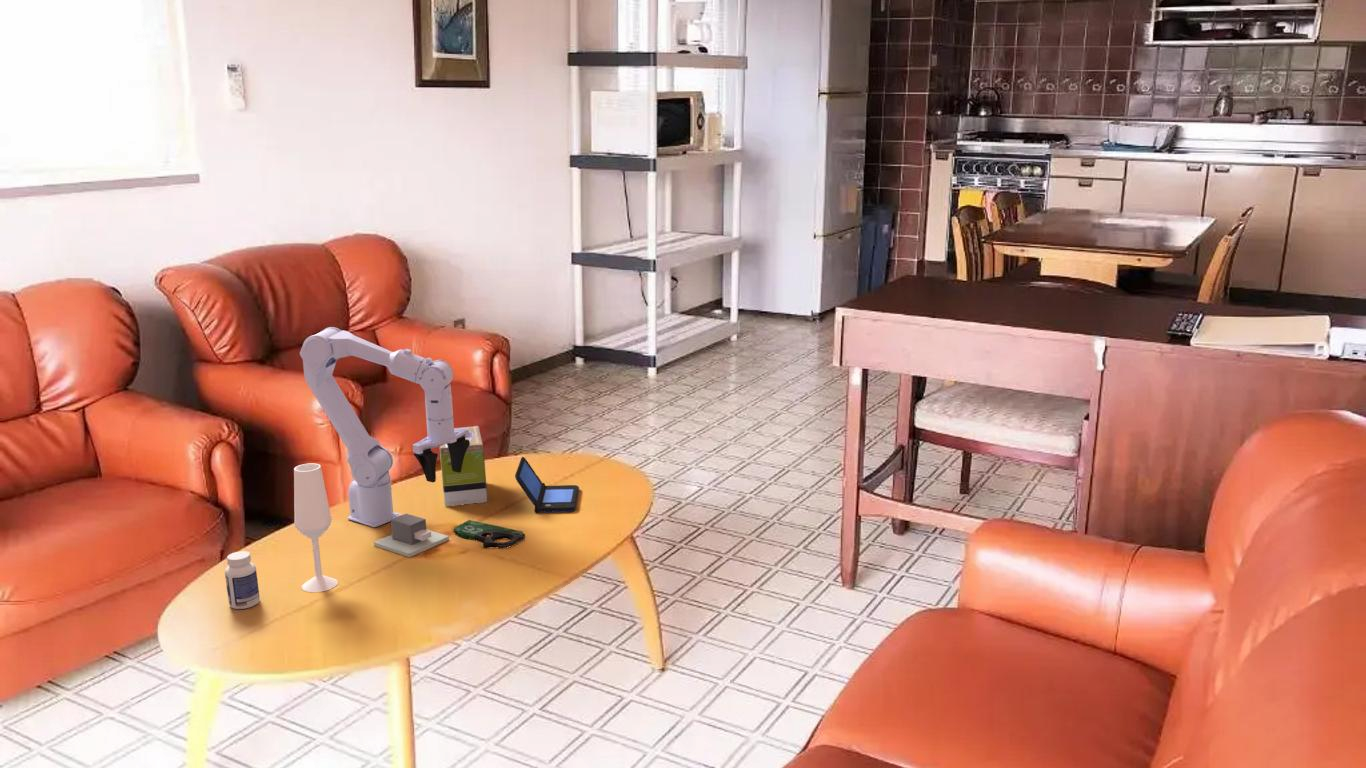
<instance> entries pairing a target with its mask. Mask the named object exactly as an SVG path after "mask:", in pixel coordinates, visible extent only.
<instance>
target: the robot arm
mask: <svg viewBox="0 0 1366 768" xmlns="http://www.w3.org/2000/svg"><path fill="white" fill-rule="evenodd" d="M412 352H413V351H412V350H411V349H409V348H405V349H398V350H395V351H391V350H389V349H387V348H384V347H382V346H379V345H377V344H375V343H372V341H371V342H370V341H368V340H365V339H364V338H362V337H359V336H356V335H354V333H351V332H350V331H348V330H341V329H340V328H338V327H333V326H329V327H326V328H324V329H323V330H321V331H320V332H318V333H316V334H313V335H310V336H308V337H307V338H306V339H305V340H304V341H303V343H302V347H301V349H300V352H299V355H300V357H301V359H302V365H303V376H304V377H303V378H304V380H305V383H306V384H307V386H308V387H309V389H310V391H311V392H312V393H313V395H314V397H315V399H316V400H317V402H318V403H319V404H320V407H321V408H322V410H323V411H324V413H325V415H326V416H327V418H328V420H329V421H330V423H331V424H332V426H333V428H334V429H335V431H336V432H337V434H338V436H339V438H340V439H341V440H342V442H343V444H344V445H345V447H346V449H347V452H346V453H347V457H346V461H347V463H348V465H349V467H350V474H351V476H352V479H353V480H352V482H350V484H349V487H348V492H347V493H348V501H349V502H348V504H349V511H350V512H349V513H350V515H349V516H347V520H350V521H352V522H356V523H358V524H359V523H360V524H363V525H366V526H368V527H373V528H377V527H380V526H381V525H384V524H386V523H389V522H390V523H391V519H394V518H396V517H399V516H401V515H403V514H402V513H399V512H395V511H394V504H393V495H392V494H393V493H392V483H391V476H390V470H391V469H392V467H393V464H394V458H393V455H392V454H391V452H390V450H389V449H386V448H385V447H384V446H383V445H382V444H381V443H380V441H379V440H378V439H377V438H375V437H372V436H371V435H369V433H368V431H367V430H366V428H365V426H364V425H363V424H362V422H361V420H360V418H359V417H358V415H357V412H355V410H354V408H353V407H352V405H351V403H350V402H349V400H348V399H347V397H346V396H345V394H344V392H343V391H342V389H341V388H340V386H339V384H338V382H337V381H336V379H335V378H334V375H333V374H334V370H335V367H336V364H337V361H338V360H339V359H342V358H347V357H351V356H352V357H356V358H359V359H362V360H366V361H368V362H372V363H374V364H375V363H376V364H378V365H382V366H385V367H386V368H387V370H388V371H389V373H390V374H391V375H392V376H393V375H394V376H395V377H399V378H402V379H404V380H407V381H409V382H412V383H414V384H417V385H420V387H421V388H422V389H423V391H424V404H425V405H424V407H425V417H426V431H427V436H425V438H422V439H421V440H419V441H418V442H416V443H413V444H412V451H413V456H414V457H415V459H416V460H417V461H418V463H419V464H420V466H421V469H422V471H423V474H424V477H425V480H426V482H430V483H435V482H436V480H437V473H436V472H437V471H436V470H437V469H436V467H437V460H438V457H439V456H438V455H439V454H438V453H436V452H433V450H432V449H435V448H438V447H439V448H440V446H442V445H444V444H447V446H448V449H449V452H450V457H451V466H452V470H453V471H454V472H458V473H459V472H461V469H462V464H463V459H464V456H465V453H466V451H467V448H468V447H469V445H470V441H469V440H466V439H465V438H468V437H469V430H468V429H466V428H463V427H459V428H460V429H456V430H454V428H455V425H454V410H453V409H454V408H453V395H452V387H451V386H452V385H451V382H452V381H453V378H454V369H453V368H452V365H450V364H449V362H448V363H447V361H444V360H443V359H436V360H433V358H432V357H427V358H426V357H423V356H420V355H418V354H415V353H412Z"/></svg>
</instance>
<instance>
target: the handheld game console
mask: <svg viewBox="0 0 1366 768" xmlns="http://www.w3.org/2000/svg"><path fill="white" fill-rule="evenodd" d="M514 474H515V475H514V477H515V480H516V482H517V484H518V485H519V487H520V488H521V489H522V491H523V492H524V493H525V495H526V496H527V498H528V499H529V500H530V502H531V503H532V505H533V506H534V513H535V514H539V513H572V512H574V511H576V509H577V503H578V497H579V491H580V487H579V486H578V485H575V484H567V485H566V484H564V485H563V484H561V485H560V484H559V485H555V484H554V485H546V484H545V483H544V482H543V481H542V480H541V479H540V477H539V476H538V475H537V474H536V472H535V470H534V469H533V468H532V466H531V464H530V463H529V462H528V460H527V459H526V457H524V456H521V458H520V460H519V463H518V465H517V469H516V472H515V473H514Z"/></svg>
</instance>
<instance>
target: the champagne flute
mask: <svg viewBox="0 0 1366 768" xmlns="http://www.w3.org/2000/svg"><path fill="white" fill-rule="evenodd" d="M321 467H322V466H321V464H319V463H312V462H311V463H304V464H299V465H297V466H295V467H294V468H293V477H294V478H293V479H294V480H293V482H294V483H293V488H294V489H293V490H294V494H293V495H294V496H293V497H294V500H293V501H294V502H293V503H294V504H293V505H294V508H293V509H294V514H293V515H294V526H295V528H296V530H297V531H298V532H299V533H300V534H301V535H302V536H305V537H306V538H308V539H311V543H312V553H313V554H312V555H313V562H314V573H315V576H313V577H312V578H310V579H309V580H307V581H306V582H304V583H303V584H302V586H301V589H302V591H304V592H306V593H307V592H308V593H320V592H325V591H330V590H331V589H333V588H335V587H336V586H337V585H338V583H339V582H338V580H337V579H336V578H333V577H330V576H327V575H324V574H323V571H322V562H321V553H320V552H321V551H320V543H319V538H321V537H322V536H323V535H324V534H325V533H326V531H327V530H328V529H329V527H330V526H331V524H332V520H333V519H332V515H331V511H330V505H329V500H328V496H327V490H326V485H325V481H324V477H323V471H322V468H321Z"/></svg>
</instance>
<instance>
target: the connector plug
mask: <svg viewBox="0 0 1366 768" xmlns="http://www.w3.org/2000/svg"><path fill="white" fill-rule="evenodd" d="M390 525H391V535H392V539H394V540H397V541H400V542H403V543H407V544H410V545H413V544H416V543H418V542H420V541H423V540H426V539H428V538H430V537H431V532H430V531H431V530H430V531H427V530H428V529H427V521H426V518H424V517H419V516H416V515H412V514H409V513H404V514H402V515H401V516H399V517H396V518H394V519H391V521H390ZM426 529H427V530H426Z"/></svg>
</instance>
